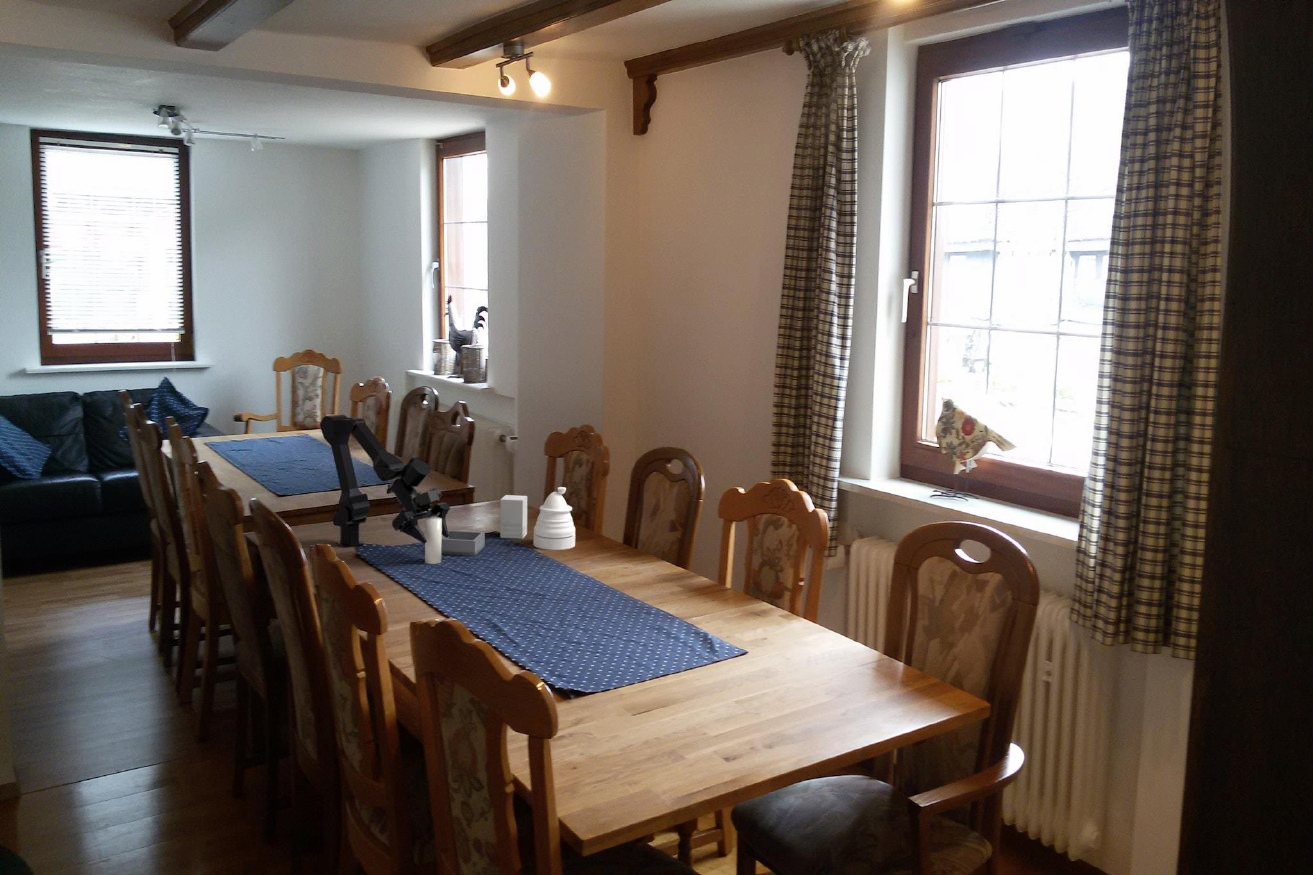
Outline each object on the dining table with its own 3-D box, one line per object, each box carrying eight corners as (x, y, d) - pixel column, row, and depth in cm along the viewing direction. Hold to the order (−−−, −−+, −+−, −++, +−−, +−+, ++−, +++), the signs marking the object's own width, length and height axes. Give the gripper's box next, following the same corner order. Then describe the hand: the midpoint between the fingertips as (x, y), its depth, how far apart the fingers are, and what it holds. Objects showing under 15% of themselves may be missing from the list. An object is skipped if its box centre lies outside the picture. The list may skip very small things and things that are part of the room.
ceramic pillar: (422, 561, 301) (422, 518, 299) (436, 559, 304) (437, 516, 302) (429, 564, 297) (429, 521, 295) (444, 562, 300) (444, 519, 298)
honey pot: (578, 541, 331) (579, 485, 329) (571, 551, 319) (572, 492, 316) (538, 538, 333) (539, 482, 330) (529, 548, 320) (530, 490, 318)
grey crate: (436, 553, 309) (436, 538, 309) (447, 544, 321) (447, 530, 320) (474, 556, 308) (475, 541, 308) (484, 546, 320) (484, 532, 319)
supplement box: (527, 534, 338) (528, 495, 337) (522, 539, 331) (523, 500, 329) (505, 532, 339) (505, 494, 337) (499, 538, 332) (500, 498, 330)
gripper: (399, 483, 291) (429, 528, 287) (445, 475, 307) (474, 517, 303) (378, 508, 296) (407, 552, 292) (425, 498, 312) (453, 540, 308)
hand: (436, 539), depth 299 cm, fingers open, 9 cm apart
